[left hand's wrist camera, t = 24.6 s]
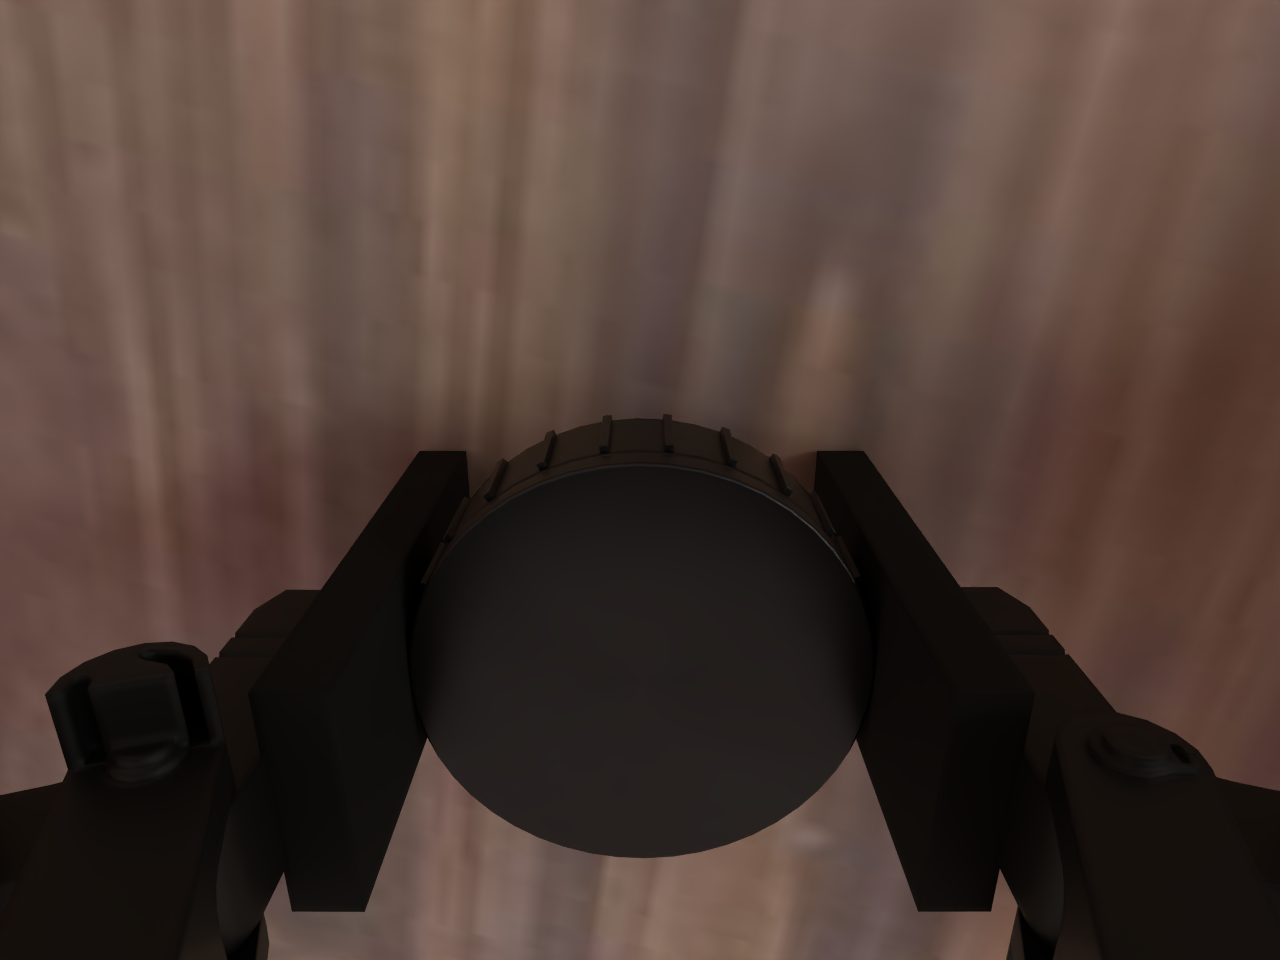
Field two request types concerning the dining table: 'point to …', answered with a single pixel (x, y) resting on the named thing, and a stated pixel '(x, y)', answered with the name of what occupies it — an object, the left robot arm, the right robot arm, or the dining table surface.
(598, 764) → the lid
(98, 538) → the dining table surface
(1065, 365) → the dining table surface
